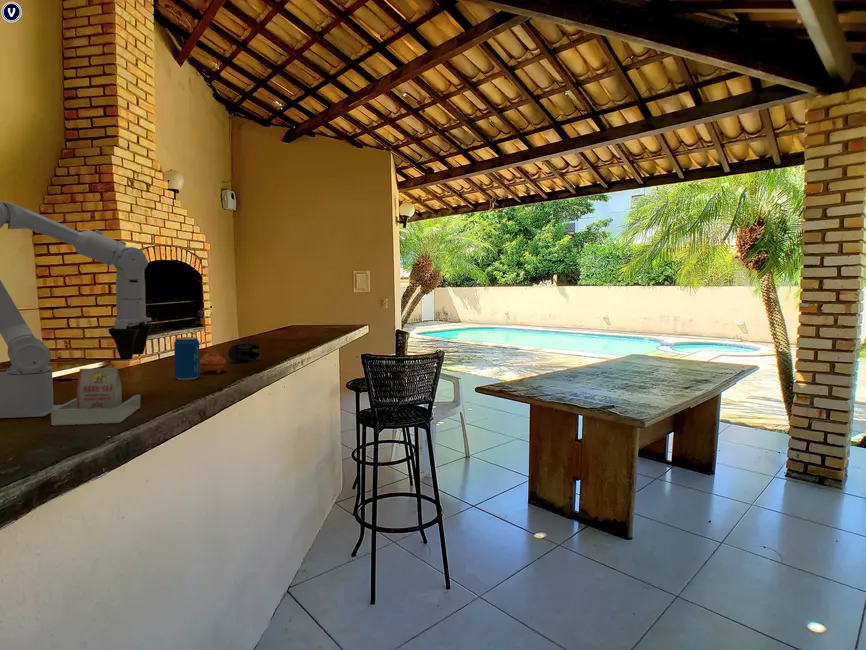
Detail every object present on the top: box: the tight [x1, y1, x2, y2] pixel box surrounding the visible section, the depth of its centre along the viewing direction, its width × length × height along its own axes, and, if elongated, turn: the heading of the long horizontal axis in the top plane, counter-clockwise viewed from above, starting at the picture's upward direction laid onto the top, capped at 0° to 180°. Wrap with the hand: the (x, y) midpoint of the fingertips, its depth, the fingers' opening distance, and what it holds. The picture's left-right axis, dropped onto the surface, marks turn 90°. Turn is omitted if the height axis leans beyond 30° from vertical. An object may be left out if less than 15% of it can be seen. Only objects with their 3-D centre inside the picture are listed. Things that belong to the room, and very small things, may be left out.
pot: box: [199, 352, 227, 375], centre depth 145 cm, size 8×8×7 cm
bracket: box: [50, 393, 141, 426], centre depth 96 cm, size 12×12×3 cm
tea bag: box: [76, 367, 123, 408], centre depth 97 cm, size 4×7×10 cm, turn 105°
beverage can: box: [173, 336, 201, 381], centre depth 135 cm, size 6×6×12 cm
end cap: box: [227, 341, 261, 365], centre depth 167 cm, size 10×7×7 cm
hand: (132, 356), depth 109 cm, fingers open, 7 cm apart
